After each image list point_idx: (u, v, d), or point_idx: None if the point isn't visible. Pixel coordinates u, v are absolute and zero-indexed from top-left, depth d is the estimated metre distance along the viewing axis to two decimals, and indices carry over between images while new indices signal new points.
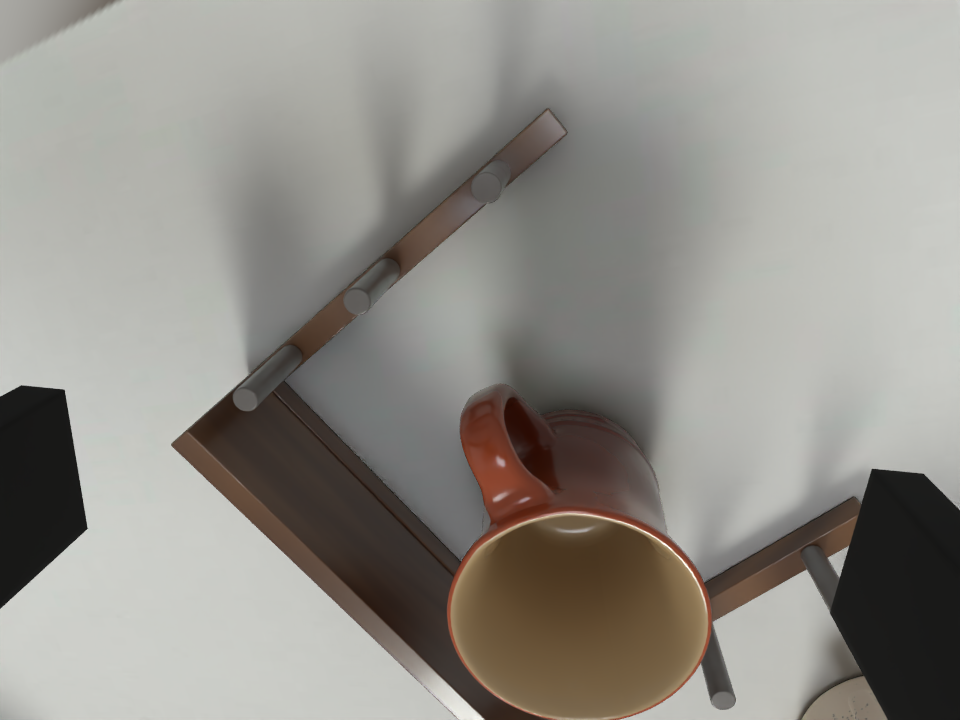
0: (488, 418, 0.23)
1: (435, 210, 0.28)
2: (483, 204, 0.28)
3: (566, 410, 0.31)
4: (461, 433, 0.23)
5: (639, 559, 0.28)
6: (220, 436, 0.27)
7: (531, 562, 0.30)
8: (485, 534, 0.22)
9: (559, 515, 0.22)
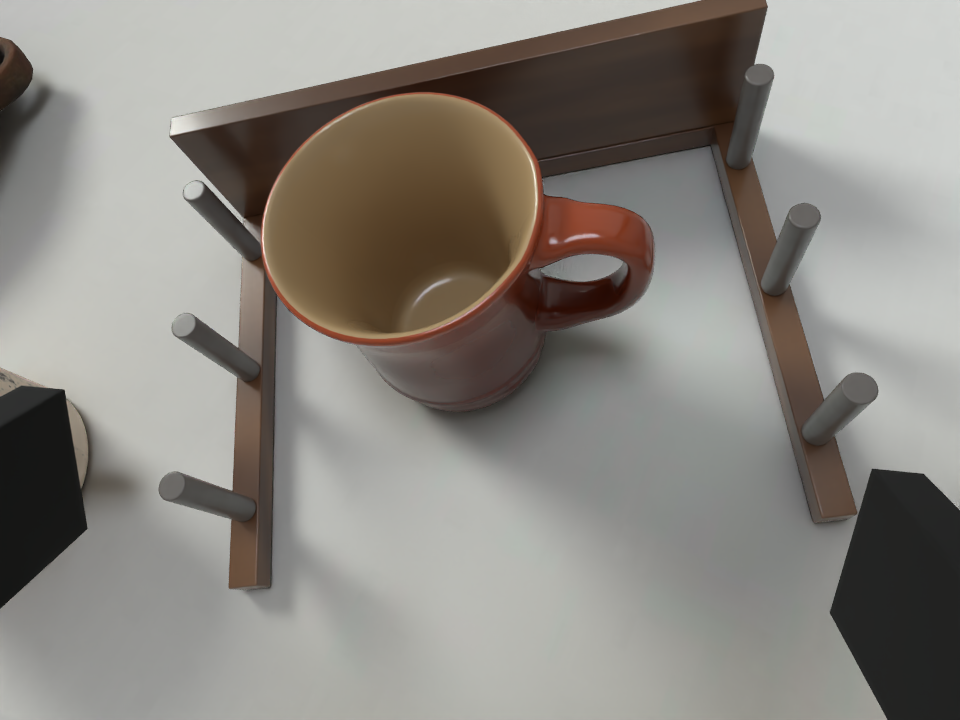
0: (645, 250, 0.20)
1: (809, 356, 0.26)
2: (791, 402, 0.25)
3: (534, 366, 0.28)
4: None
5: (375, 330, 0.25)
6: (733, 37, 0.26)
7: (425, 240, 0.27)
8: (541, 177, 0.20)
9: (524, 249, 0.19)
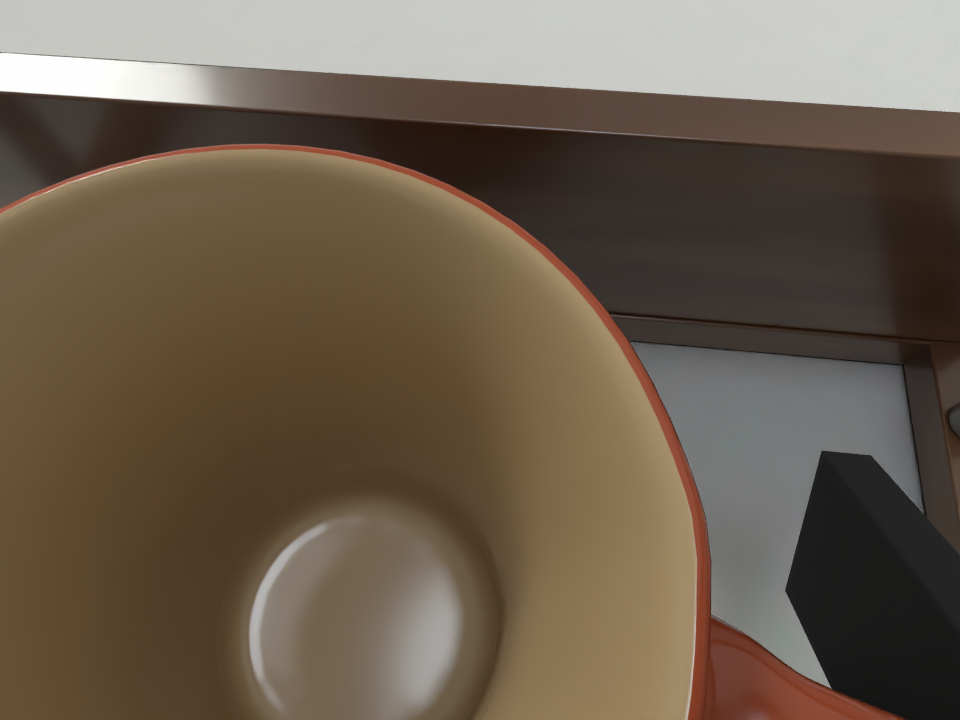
0: None
1: None
2: None
3: None
4: None
5: (132, 694, 0.10)
6: None
7: (333, 452, 0.12)
8: (706, 580, 0.06)
9: None
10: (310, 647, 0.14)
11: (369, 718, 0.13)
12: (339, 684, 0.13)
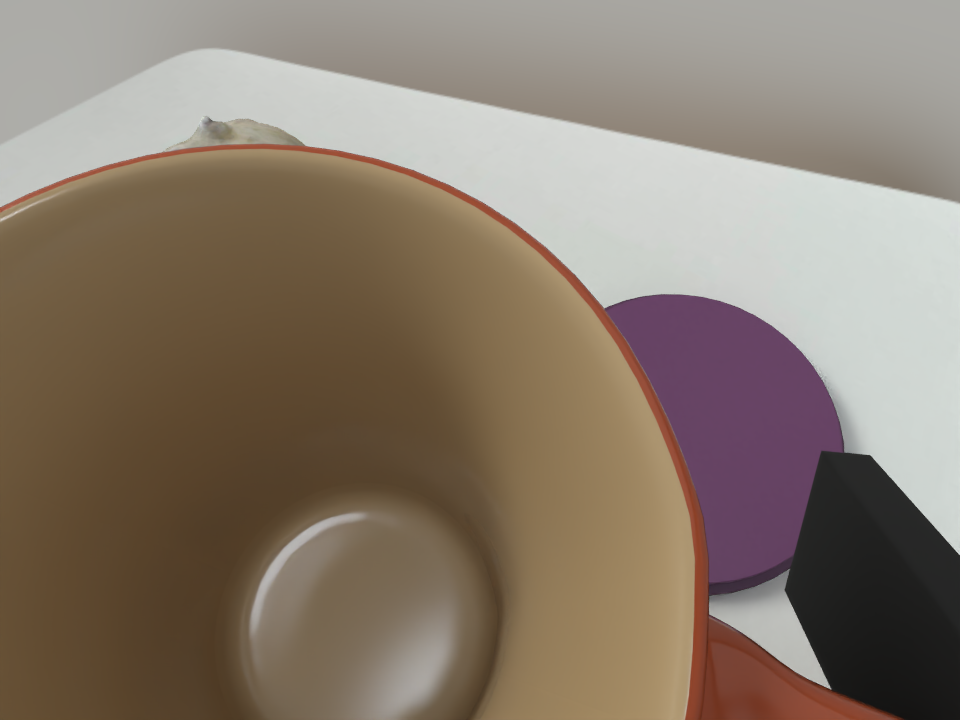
0: None
1: None
2: None
3: None
4: None
5: (130, 694, 0.10)
6: None
7: (332, 452, 0.12)
8: (703, 580, 0.06)
9: None
10: (309, 647, 0.14)
11: (368, 718, 0.13)
12: (338, 684, 0.13)
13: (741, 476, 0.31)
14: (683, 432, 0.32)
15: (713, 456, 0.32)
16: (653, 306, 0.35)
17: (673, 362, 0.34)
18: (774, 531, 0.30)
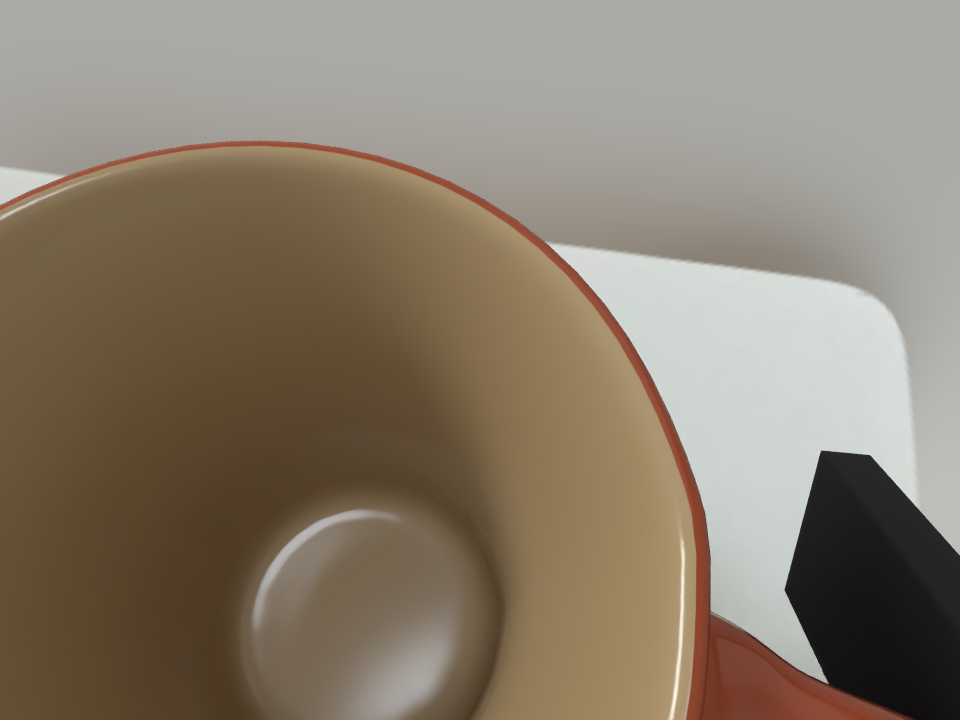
0: None
1: None
2: None
3: None
4: None
5: (132, 691, 0.10)
6: None
7: (333, 450, 0.12)
8: (705, 576, 0.06)
9: None
10: (310, 645, 0.14)
11: (369, 716, 0.13)
12: (339, 682, 0.13)
13: None
14: None
15: None
16: None
17: None
18: None
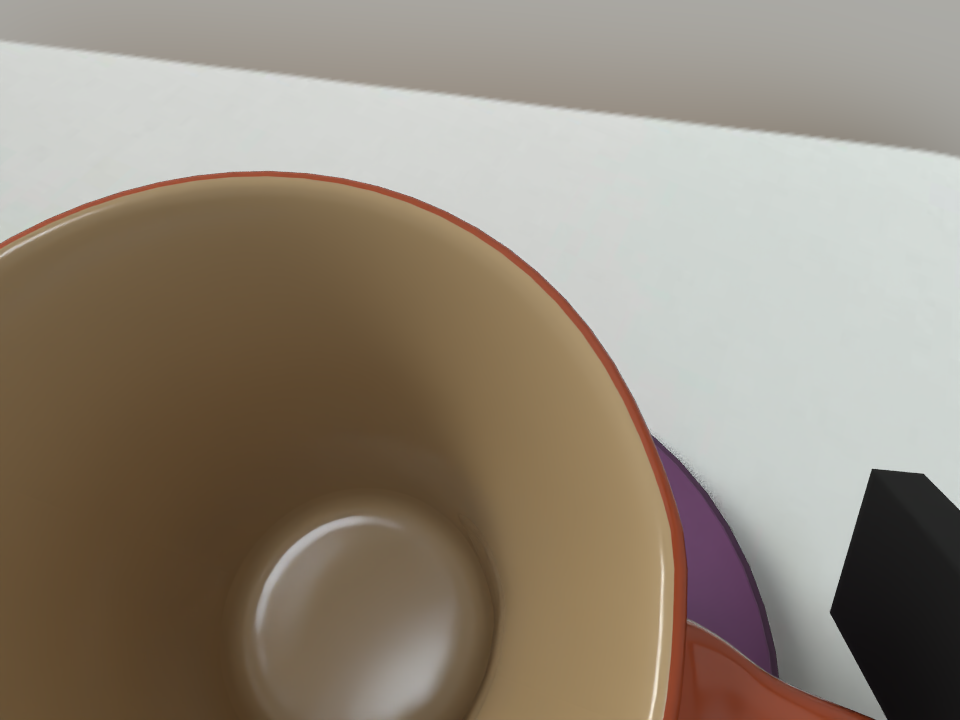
0: None
1: None
2: None
3: None
4: None
5: (141, 693, 0.10)
6: None
7: (334, 459, 0.13)
8: None
9: None
10: (311, 647, 0.14)
11: (368, 716, 0.13)
12: (339, 683, 0.14)
13: None
14: None
15: None
16: None
17: None
18: None
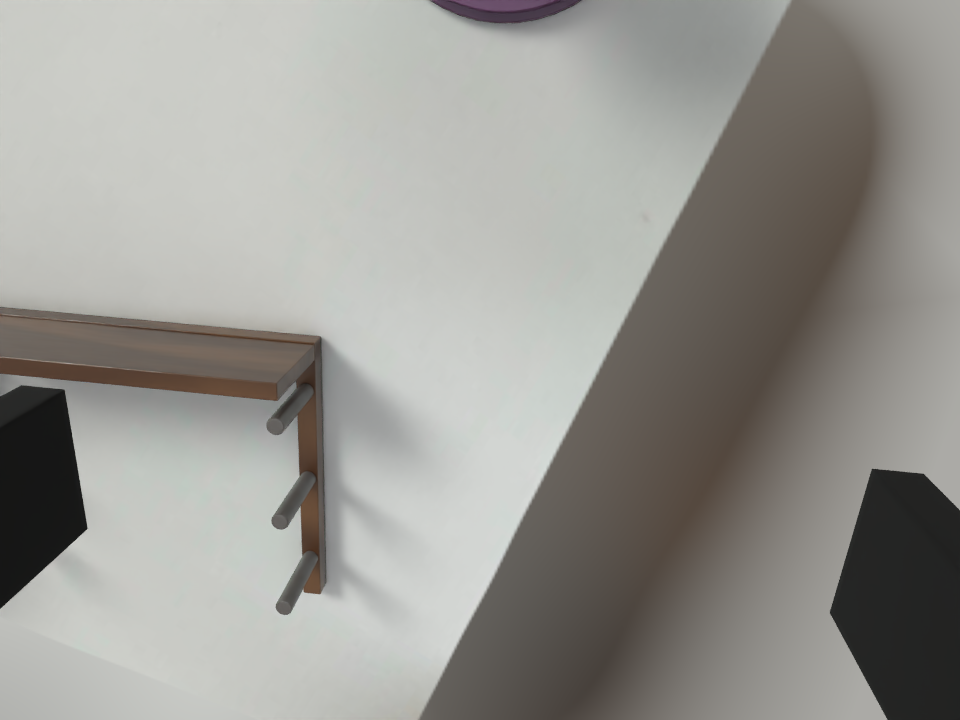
0: None
1: (317, 520, 0.45)
2: (302, 540, 0.46)
3: None
4: None
5: None
6: None
7: None
8: None
9: None
10: None
11: None
12: None
13: None
14: None
15: None
16: None
17: None
18: None
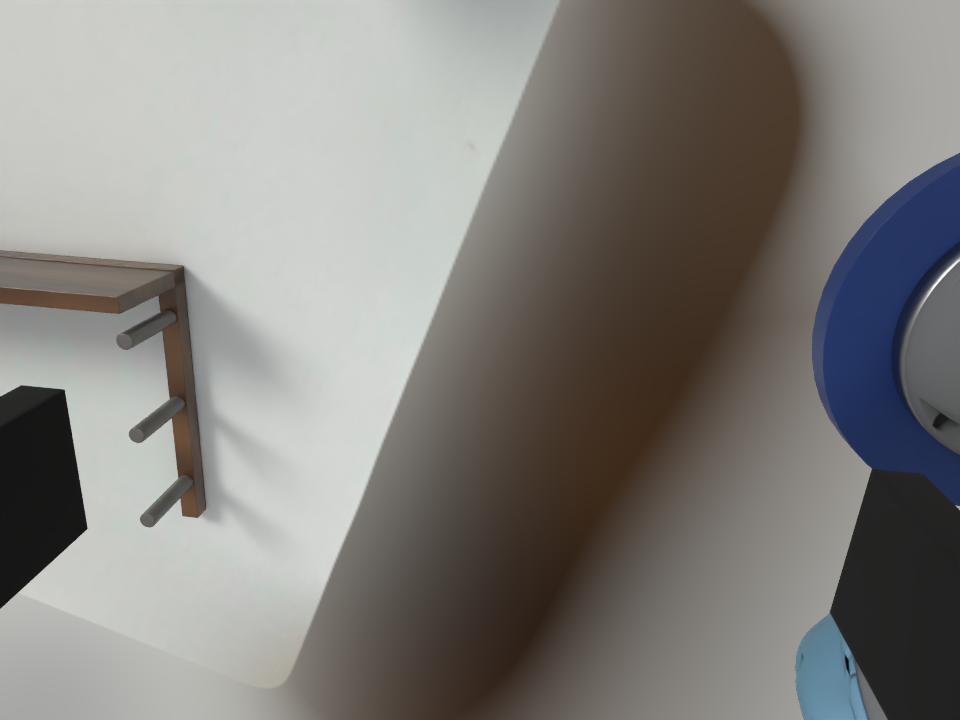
0: None
1: (190, 445, 0.48)
2: (177, 464, 0.48)
3: None
4: None
5: None
6: None
7: None
8: None
9: None
10: None
11: None
12: None
13: None
14: None
15: None
16: None
17: None
18: None
